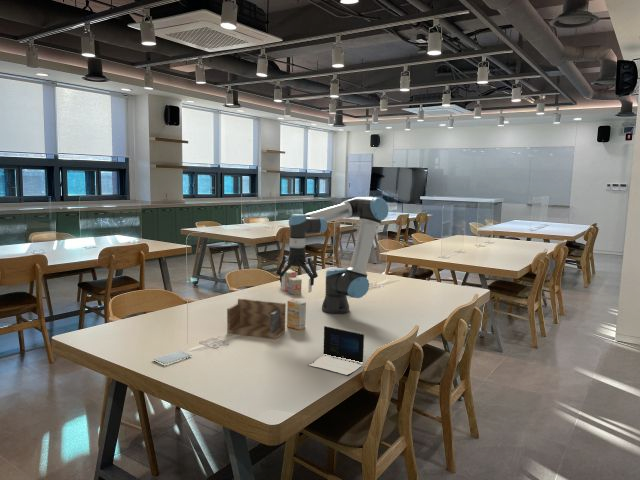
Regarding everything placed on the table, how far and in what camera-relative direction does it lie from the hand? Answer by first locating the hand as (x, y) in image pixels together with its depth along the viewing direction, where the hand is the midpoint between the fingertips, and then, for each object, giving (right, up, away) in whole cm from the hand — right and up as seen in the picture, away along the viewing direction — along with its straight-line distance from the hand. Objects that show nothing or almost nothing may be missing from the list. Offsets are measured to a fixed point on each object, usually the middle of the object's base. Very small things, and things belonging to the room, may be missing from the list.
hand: (296, 290), depth 227 cm
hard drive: (-47, -23, -41) cm, 66 cm away
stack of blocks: (-8, -9, +78) cm, 79 cm away
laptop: (+17, -25, -43) cm, 53 cm away
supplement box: (0, -18, +2) cm, 19 cm away
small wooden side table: (-18, -19, -6) cm, 27 cm away
